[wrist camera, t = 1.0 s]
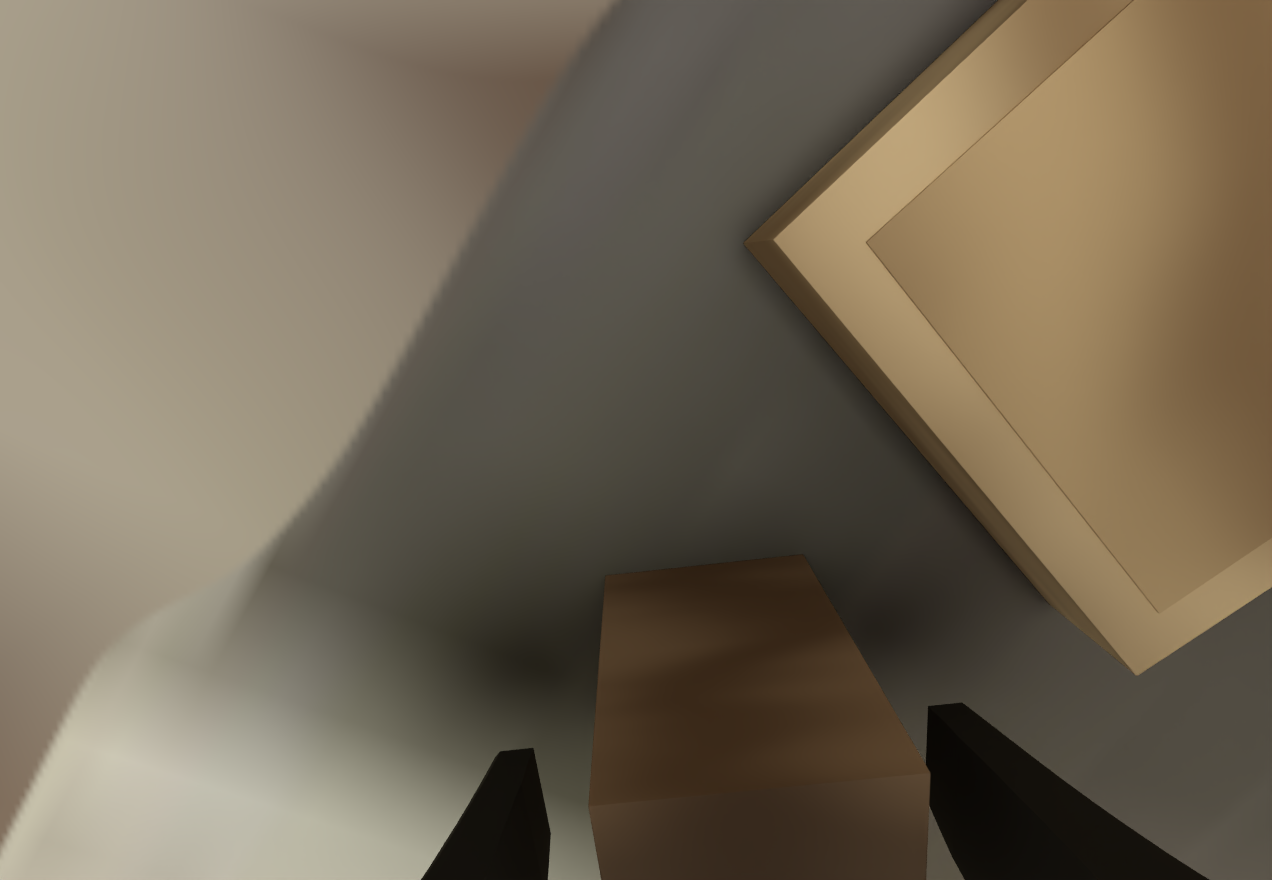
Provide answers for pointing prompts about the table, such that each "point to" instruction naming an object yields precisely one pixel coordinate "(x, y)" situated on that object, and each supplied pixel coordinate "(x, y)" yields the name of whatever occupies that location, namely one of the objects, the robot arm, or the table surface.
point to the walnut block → (746, 735)
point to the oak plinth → (1071, 298)
